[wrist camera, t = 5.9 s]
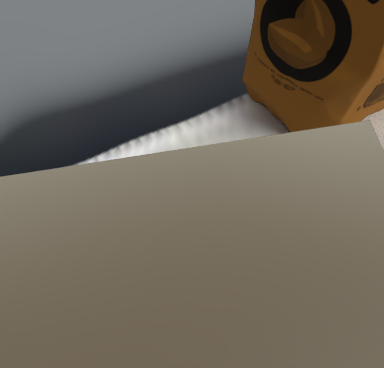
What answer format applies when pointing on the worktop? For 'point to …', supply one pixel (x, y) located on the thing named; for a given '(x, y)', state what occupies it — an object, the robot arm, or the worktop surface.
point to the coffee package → (317, 60)
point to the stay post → (200, 257)
